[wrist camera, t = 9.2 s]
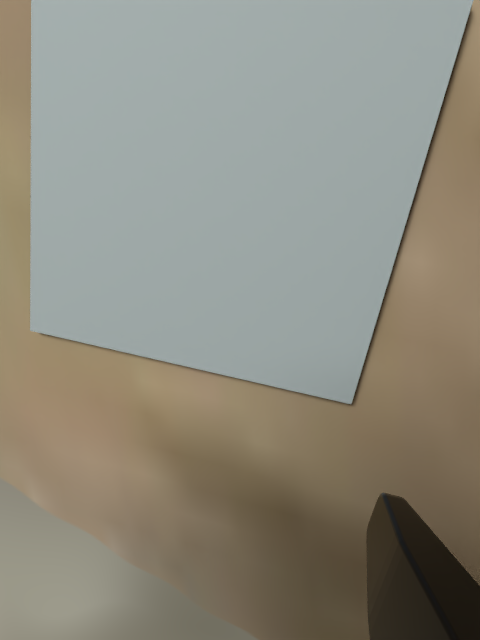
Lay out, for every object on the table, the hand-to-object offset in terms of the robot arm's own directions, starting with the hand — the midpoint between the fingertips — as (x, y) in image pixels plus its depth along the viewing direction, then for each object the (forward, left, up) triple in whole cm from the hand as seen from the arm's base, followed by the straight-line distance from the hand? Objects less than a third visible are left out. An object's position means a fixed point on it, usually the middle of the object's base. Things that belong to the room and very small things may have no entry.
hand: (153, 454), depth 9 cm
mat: (+2, -4, -12) cm, 13 cm away
